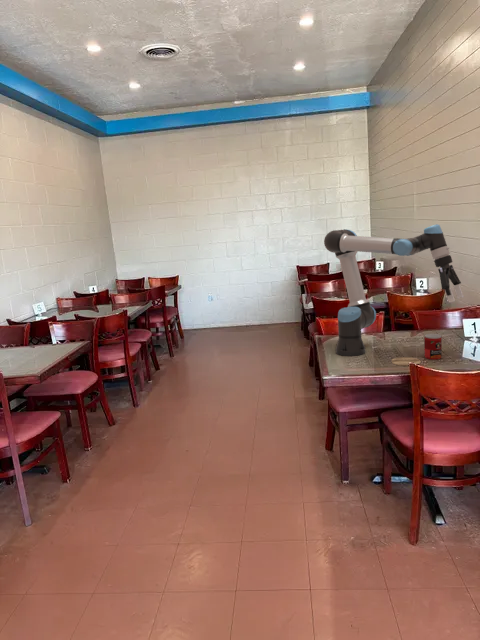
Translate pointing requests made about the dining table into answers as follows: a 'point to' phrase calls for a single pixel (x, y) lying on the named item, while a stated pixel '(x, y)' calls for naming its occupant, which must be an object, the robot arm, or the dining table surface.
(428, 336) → the canned food
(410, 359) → the disc
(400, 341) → the dining table surface
